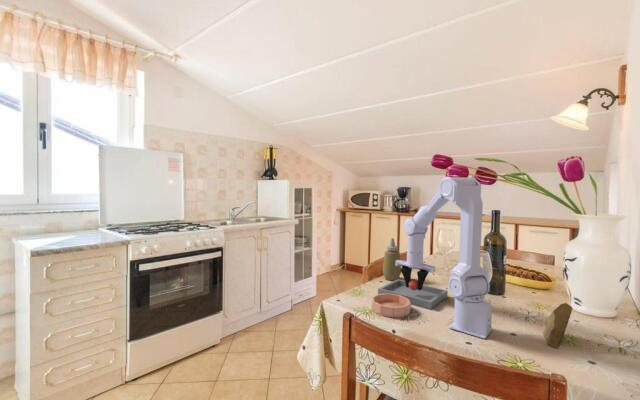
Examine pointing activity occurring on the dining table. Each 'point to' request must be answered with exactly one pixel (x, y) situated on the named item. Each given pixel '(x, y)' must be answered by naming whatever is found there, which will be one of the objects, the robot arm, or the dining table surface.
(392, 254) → the squeeze bottle
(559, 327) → the rock
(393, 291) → the tray
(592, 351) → the dining table surface
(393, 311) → the pink bowl
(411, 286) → the ball
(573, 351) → the dining table surface
